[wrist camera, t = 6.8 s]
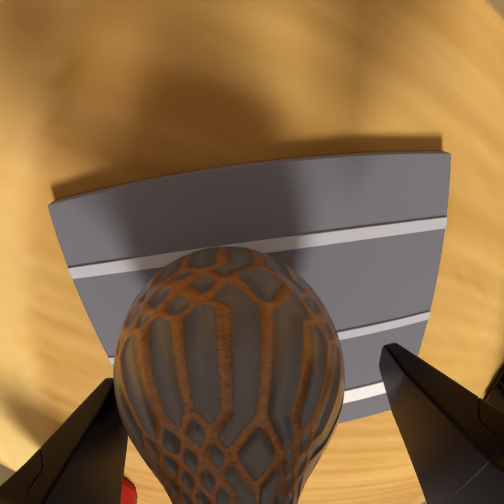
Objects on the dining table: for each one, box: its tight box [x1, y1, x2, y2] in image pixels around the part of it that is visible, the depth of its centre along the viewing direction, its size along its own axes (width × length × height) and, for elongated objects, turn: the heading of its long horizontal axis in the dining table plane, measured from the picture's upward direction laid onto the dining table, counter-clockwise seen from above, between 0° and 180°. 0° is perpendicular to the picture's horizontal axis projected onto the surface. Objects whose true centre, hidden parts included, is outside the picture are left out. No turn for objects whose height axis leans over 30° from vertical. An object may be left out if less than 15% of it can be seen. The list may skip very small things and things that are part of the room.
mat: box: [48, 151, 451, 423], centre depth 14 cm, size 16×16×1 cm
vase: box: [114, 246, 345, 504], centre depth 9 cm, size 7×7×9 cm
